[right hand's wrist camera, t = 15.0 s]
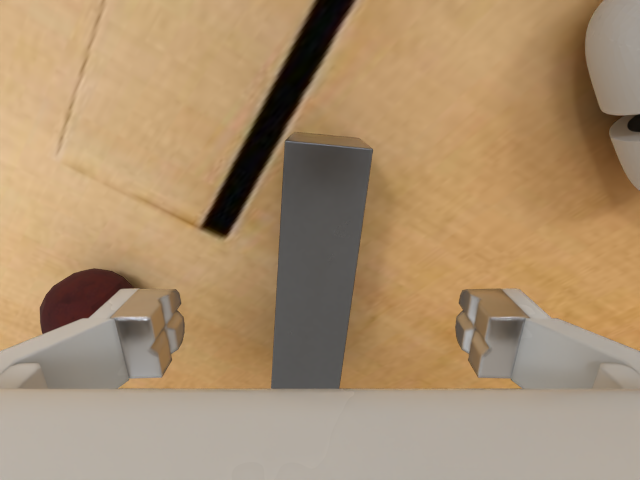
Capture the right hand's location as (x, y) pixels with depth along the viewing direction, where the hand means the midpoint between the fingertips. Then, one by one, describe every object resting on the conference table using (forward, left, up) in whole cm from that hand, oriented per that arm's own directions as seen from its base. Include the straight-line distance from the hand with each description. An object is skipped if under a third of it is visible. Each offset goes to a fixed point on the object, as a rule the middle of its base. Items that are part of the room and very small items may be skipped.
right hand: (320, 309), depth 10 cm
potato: (+19, +12, -21) cm, 30 cm away
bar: (0, +8, -21) cm, 22 cm away
